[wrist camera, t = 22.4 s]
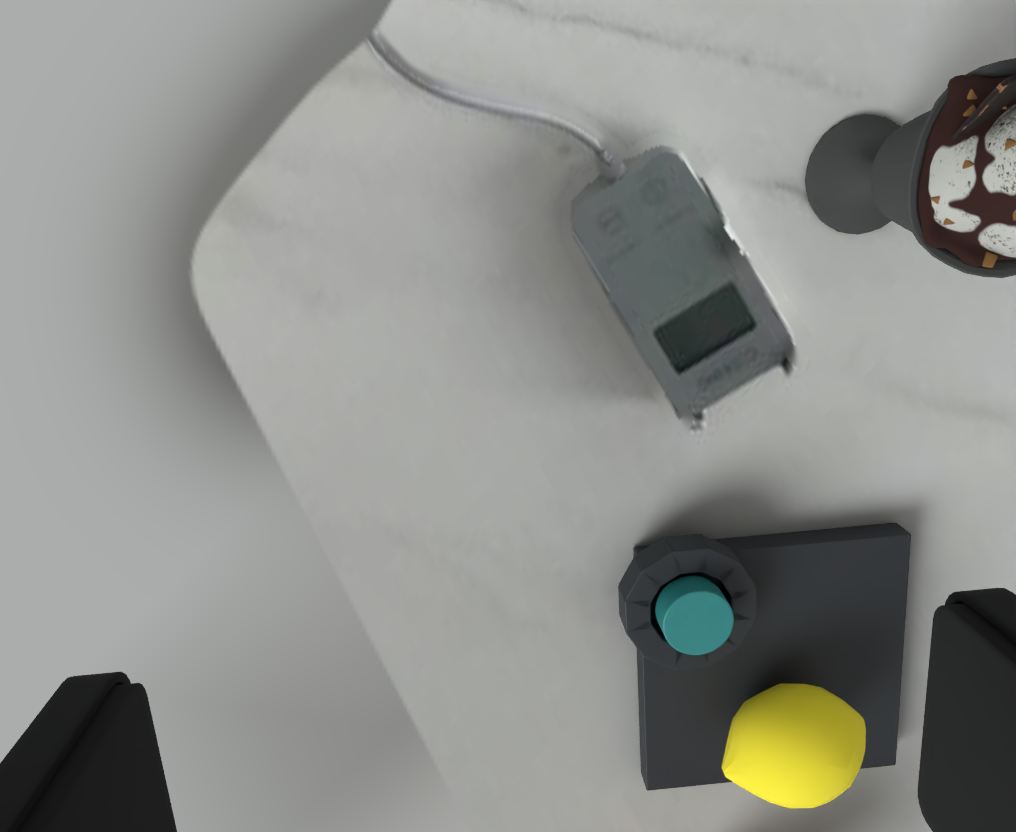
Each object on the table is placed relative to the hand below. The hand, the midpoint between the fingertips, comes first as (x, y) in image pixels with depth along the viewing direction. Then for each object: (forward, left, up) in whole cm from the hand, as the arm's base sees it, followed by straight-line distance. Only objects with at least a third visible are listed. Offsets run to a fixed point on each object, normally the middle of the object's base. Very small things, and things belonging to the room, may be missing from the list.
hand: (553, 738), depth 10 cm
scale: (+13, -18, -28) cm, 35 cm away
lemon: (+13, -20, -27) cm, 36 cm away
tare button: (+8, -13, -25) cm, 30 cm away
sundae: (+17, +5, -28) cm, 33 cm away
